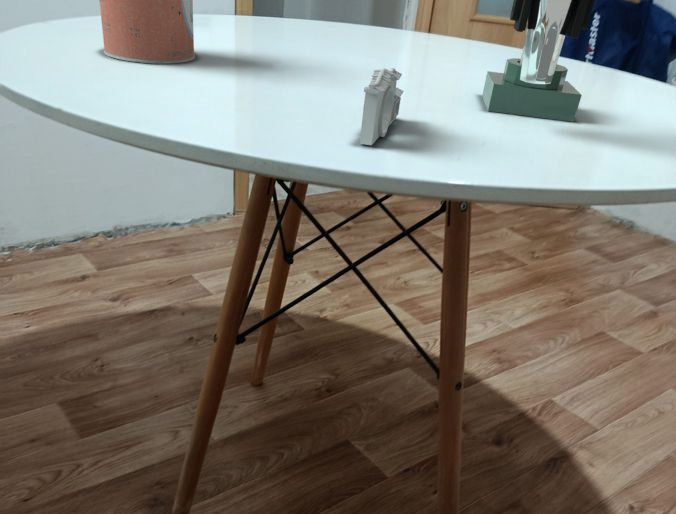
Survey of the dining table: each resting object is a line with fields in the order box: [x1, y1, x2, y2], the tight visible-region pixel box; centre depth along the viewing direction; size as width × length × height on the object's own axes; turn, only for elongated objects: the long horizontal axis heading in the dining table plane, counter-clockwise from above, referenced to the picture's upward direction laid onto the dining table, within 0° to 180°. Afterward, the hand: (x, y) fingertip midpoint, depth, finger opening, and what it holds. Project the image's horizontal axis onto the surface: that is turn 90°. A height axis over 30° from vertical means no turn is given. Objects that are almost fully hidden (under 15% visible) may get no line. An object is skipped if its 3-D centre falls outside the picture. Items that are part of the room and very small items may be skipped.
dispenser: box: [481, 57, 582, 123], centre depth 76 cm, size 10×8×5 cm
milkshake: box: [520, 0, 577, 84], centre depth 63 cm, size 4×5×10 cm
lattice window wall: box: [359, 67, 405, 146], centre depth 60 cm, size 12×2×6 cm, turn 164°
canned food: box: [99, 0, 196, 65], centre depth 79 cm, size 11×11×12 cm
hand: (545, 31), depth 63 cm, fingers closed on milkshake, 4 cm apart
